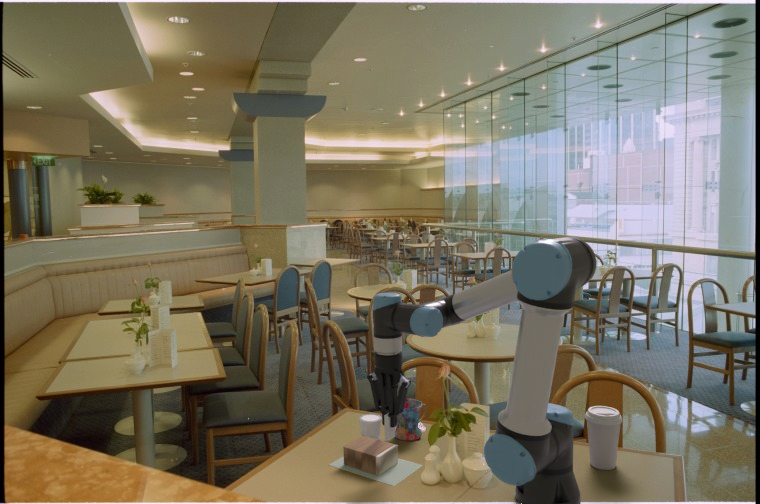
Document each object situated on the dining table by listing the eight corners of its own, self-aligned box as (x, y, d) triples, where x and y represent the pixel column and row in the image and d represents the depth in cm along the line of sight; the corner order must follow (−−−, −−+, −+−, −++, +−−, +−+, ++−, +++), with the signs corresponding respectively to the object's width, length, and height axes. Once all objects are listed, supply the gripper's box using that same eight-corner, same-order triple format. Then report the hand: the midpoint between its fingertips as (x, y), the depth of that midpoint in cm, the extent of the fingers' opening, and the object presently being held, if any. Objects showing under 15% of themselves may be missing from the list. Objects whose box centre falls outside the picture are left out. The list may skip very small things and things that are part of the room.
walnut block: (397, 445, 162) (363, 435, 169) (378, 457, 155) (343, 446, 162) (398, 462, 163) (363, 452, 170) (379, 475, 155) (343, 464, 162)
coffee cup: (581, 468, 158) (582, 414, 157) (587, 454, 167) (587, 402, 165) (619, 475, 154) (620, 419, 152) (623, 460, 162) (624, 407, 161)
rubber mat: (423, 467, 161) (423, 465, 161) (394, 488, 150) (394, 485, 150) (359, 448, 174) (359, 446, 174) (328, 466, 162) (328, 464, 162)
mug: (403, 445, 175) (402, 411, 174) (387, 435, 183) (386, 402, 182) (436, 437, 181) (435, 403, 180) (419, 427, 189) (418, 395, 188)
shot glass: (356, 437, 182) (355, 415, 181) (376, 433, 184) (375, 412, 184) (365, 446, 175) (364, 423, 175) (385, 441, 178) (385, 419, 178)
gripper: (416, 351, 155) (418, 438, 157) (376, 345, 163) (378, 428, 165) (400, 358, 149) (402, 448, 151) (359, 351, 157) (362, 437, 159)
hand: (389, 437), depth 158 cm, fingers closed
